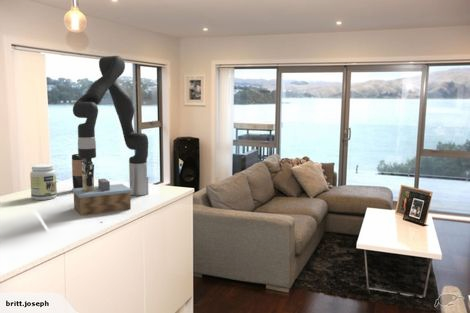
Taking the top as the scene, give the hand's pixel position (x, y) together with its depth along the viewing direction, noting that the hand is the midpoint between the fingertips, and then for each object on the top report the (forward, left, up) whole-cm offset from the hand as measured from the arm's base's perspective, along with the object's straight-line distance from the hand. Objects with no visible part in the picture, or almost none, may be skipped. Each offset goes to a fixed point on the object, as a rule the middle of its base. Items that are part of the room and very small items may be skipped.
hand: (88, 184), depth 191 cm
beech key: (0, 0, -11) cm, 11 cm away
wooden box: (-6, 0, -13) cm, 14 cm away
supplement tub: (+13, -40, -13) cm, 44 cm away
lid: (-6, 0, -4) cm, 7 cm away
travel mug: (-7, -50, -13) cm, 52 cm away
